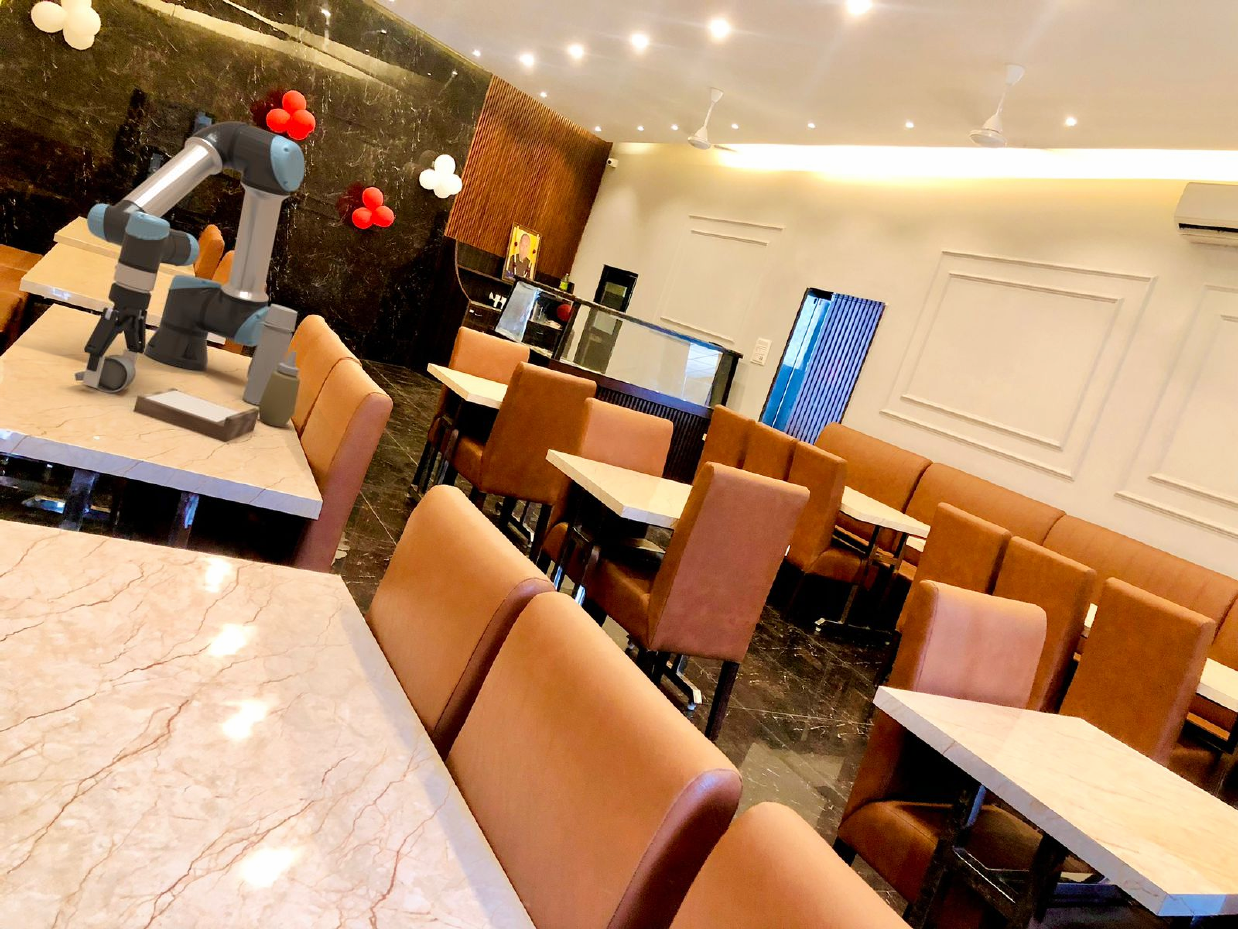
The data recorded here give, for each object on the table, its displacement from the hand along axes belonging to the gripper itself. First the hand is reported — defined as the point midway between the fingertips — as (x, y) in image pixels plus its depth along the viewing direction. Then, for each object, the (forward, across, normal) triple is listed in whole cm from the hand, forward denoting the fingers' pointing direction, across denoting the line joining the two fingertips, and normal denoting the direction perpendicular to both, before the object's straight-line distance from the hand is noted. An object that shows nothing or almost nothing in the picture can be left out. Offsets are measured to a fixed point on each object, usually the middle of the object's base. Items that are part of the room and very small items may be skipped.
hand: (107, 382), depth 188 cm
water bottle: (+1, -33, +20) cm, 39 cm away
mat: (-2, +2, +20) cm, 20 cm away
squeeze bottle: (+1, -18, +30) cm, 35 cm away
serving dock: (+1, +2, +20) cm, 21 cm away
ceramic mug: (+2, 0, -1) cm, 2 cm away
